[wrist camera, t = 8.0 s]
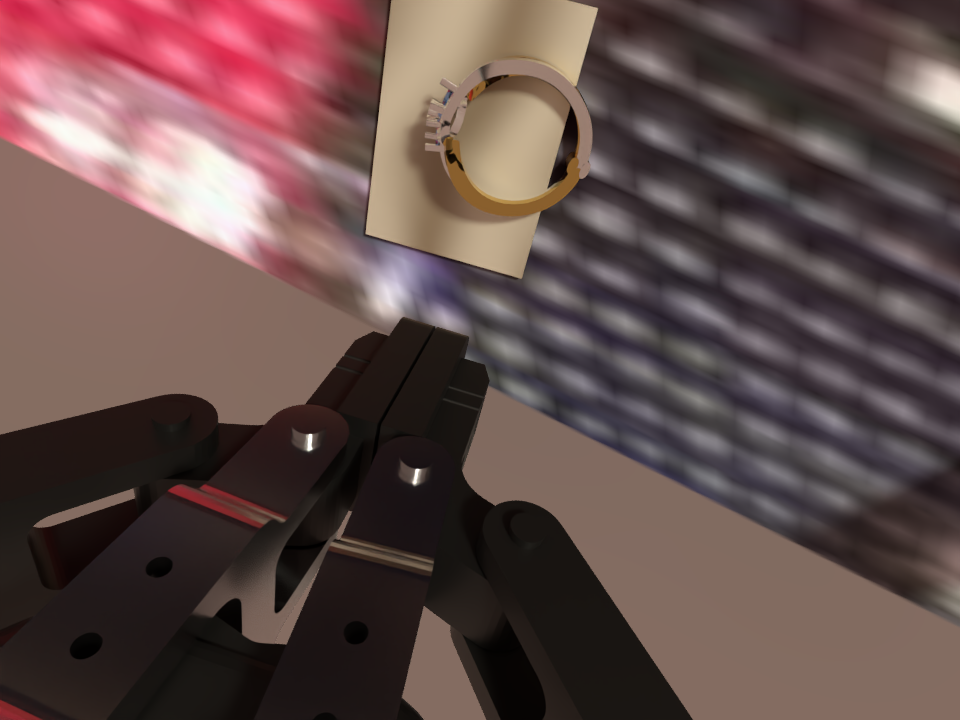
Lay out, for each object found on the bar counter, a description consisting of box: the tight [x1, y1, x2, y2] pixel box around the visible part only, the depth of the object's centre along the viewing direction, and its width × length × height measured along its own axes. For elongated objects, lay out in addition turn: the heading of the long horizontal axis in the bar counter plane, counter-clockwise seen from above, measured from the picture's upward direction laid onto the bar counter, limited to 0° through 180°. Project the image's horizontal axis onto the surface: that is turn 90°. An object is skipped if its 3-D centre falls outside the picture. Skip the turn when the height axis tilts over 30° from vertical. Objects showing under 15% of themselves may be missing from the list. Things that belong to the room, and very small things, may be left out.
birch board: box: [366, 0, 598, 279], centre depth 29 cm, size 9×13×1 cm
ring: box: [425, 55, 592, 216], centre depth 27 cm, size 7×3×8 cm
